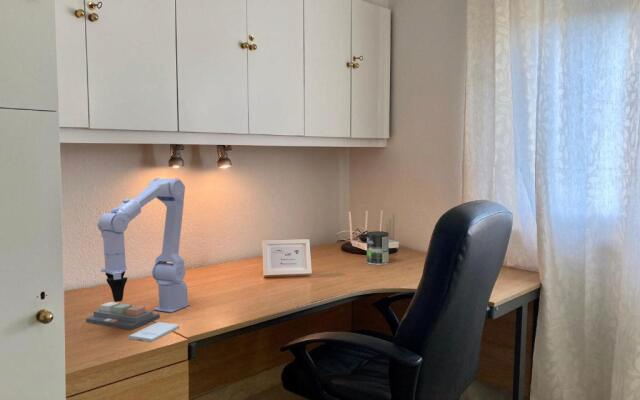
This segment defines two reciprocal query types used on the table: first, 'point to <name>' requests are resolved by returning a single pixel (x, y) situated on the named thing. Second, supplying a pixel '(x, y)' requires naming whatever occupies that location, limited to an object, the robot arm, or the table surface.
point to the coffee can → (377, 248)
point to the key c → (135, 311)
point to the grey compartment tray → (122, 319)
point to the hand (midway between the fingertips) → (117, 298)
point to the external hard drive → (154, 332)
